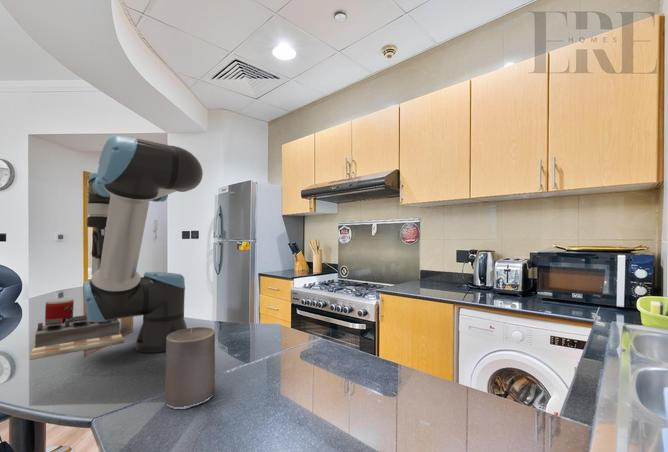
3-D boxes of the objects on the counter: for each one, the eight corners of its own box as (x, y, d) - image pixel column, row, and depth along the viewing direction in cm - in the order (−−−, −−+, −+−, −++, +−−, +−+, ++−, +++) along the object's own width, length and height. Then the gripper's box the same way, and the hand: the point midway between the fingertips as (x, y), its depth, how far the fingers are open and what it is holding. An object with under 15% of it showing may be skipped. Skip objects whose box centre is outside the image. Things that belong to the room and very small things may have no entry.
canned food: (67, 331, 115) (68, 301, 115) (40, 333, 112) (41, 302, 112) (76, 326, 122) (77, 297, 122) (50, 328, 119) (51, 299, 119)
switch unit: (123, 342, 102) (124, 320, 102) (30, 359, 88) (31, 333, 88) (117, 330, 116) (117, 310, 116) (35, 343, 101) (36, 320, 102)
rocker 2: (111, 321, 107) (111, 318, 107) (98, 323, 105) (98, 319, 104) (109, 311, 114) (109, 307, 113) (96, 312, 111) (96, 308, 111)
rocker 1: (61, 322, 98) (61, 317, 99) (45, 324, 96) (46, 319, 96) (61, 323, 105) (61, 319, 105) (47, 325, 103) (47, 320, 103)
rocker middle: (87, 318, 103) (87, 314, 103) (73, 320, 100) (73, 316, 101) (86, 320, 109) (86, 316, 109) (72, 321, 107) (72, 317, 107)
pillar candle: (184, 385, 72) (185, 320, 73) (223, 388, 71) (223, 322, 71) (153, 408, 63) (154, 333, 63) (197, 412, 61) (198, 335, 62)
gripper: (119, 214, 105) (117, 278, 104) (107, 218, 123) (106, 272, 122) (91, 213, 100) (89, 280, 99) (83, 217, 118) (81, 274, 117)
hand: (98, 276), depth 111 cm, fingers open, 13 cm apart
